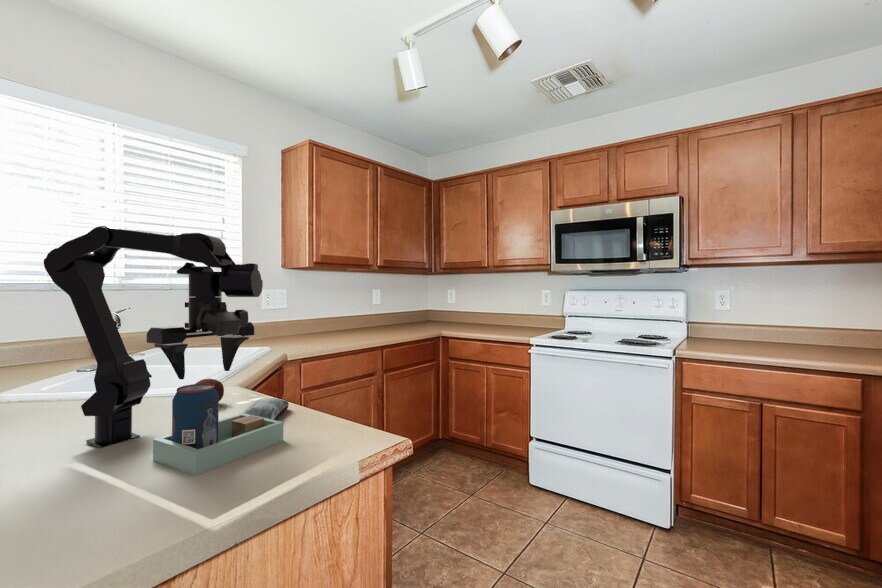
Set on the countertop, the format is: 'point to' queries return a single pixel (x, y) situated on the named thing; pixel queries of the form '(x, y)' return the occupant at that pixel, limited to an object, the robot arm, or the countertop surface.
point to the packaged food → (268, 408)
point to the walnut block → (246, 425)
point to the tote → (217, 446)
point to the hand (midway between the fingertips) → (205, 374)
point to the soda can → (195, 415)
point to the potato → (217, 384)
